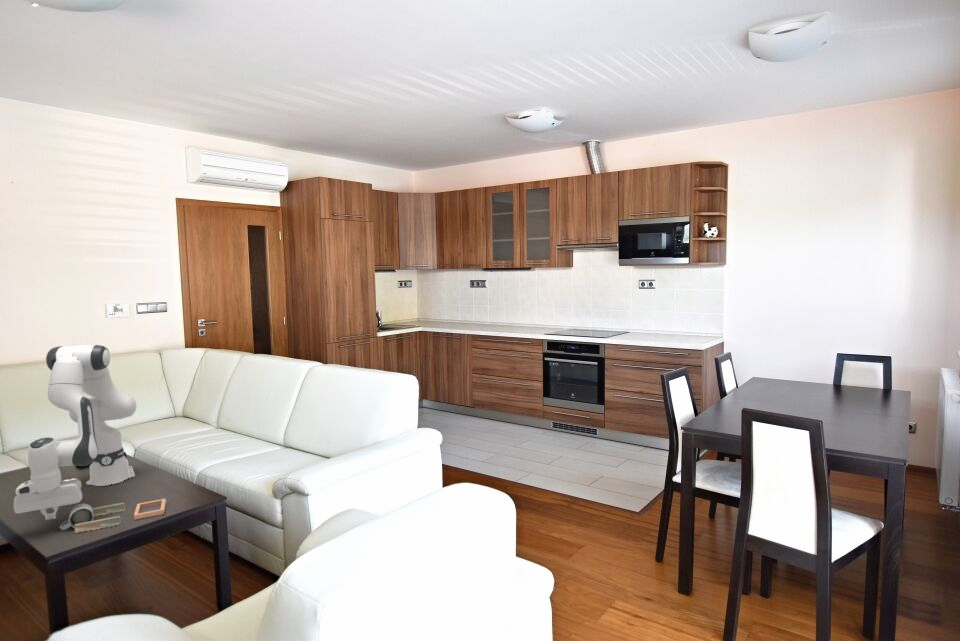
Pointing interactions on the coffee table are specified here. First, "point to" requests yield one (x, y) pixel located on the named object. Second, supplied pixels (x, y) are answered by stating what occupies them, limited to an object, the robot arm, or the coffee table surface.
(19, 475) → the coffee table surface
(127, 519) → the coffee table surface
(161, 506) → the frame
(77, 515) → the ceramic mug
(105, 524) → the channel walls
